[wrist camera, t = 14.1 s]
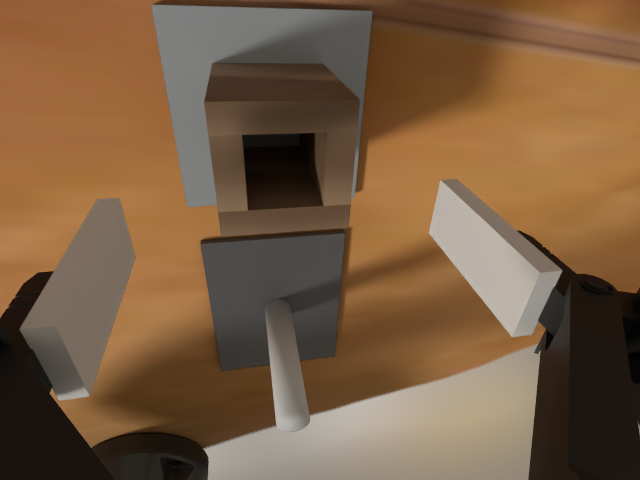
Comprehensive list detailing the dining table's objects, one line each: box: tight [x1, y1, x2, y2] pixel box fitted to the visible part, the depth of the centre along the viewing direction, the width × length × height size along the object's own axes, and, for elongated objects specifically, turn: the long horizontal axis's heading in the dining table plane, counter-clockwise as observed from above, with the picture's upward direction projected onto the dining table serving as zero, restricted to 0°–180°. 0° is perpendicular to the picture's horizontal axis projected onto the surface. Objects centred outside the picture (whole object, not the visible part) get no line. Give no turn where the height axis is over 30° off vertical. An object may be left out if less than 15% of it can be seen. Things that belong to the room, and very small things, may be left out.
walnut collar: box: [204, 63, 360, 237], centre depth 23 cm, size 7×7×9 cm
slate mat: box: [151, 4, 373, 207], centre depth 27 cm, size 13×13×1 cm
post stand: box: [201, 230, 345, 432], centre depth 32 cm, size 16×12×12 cm
